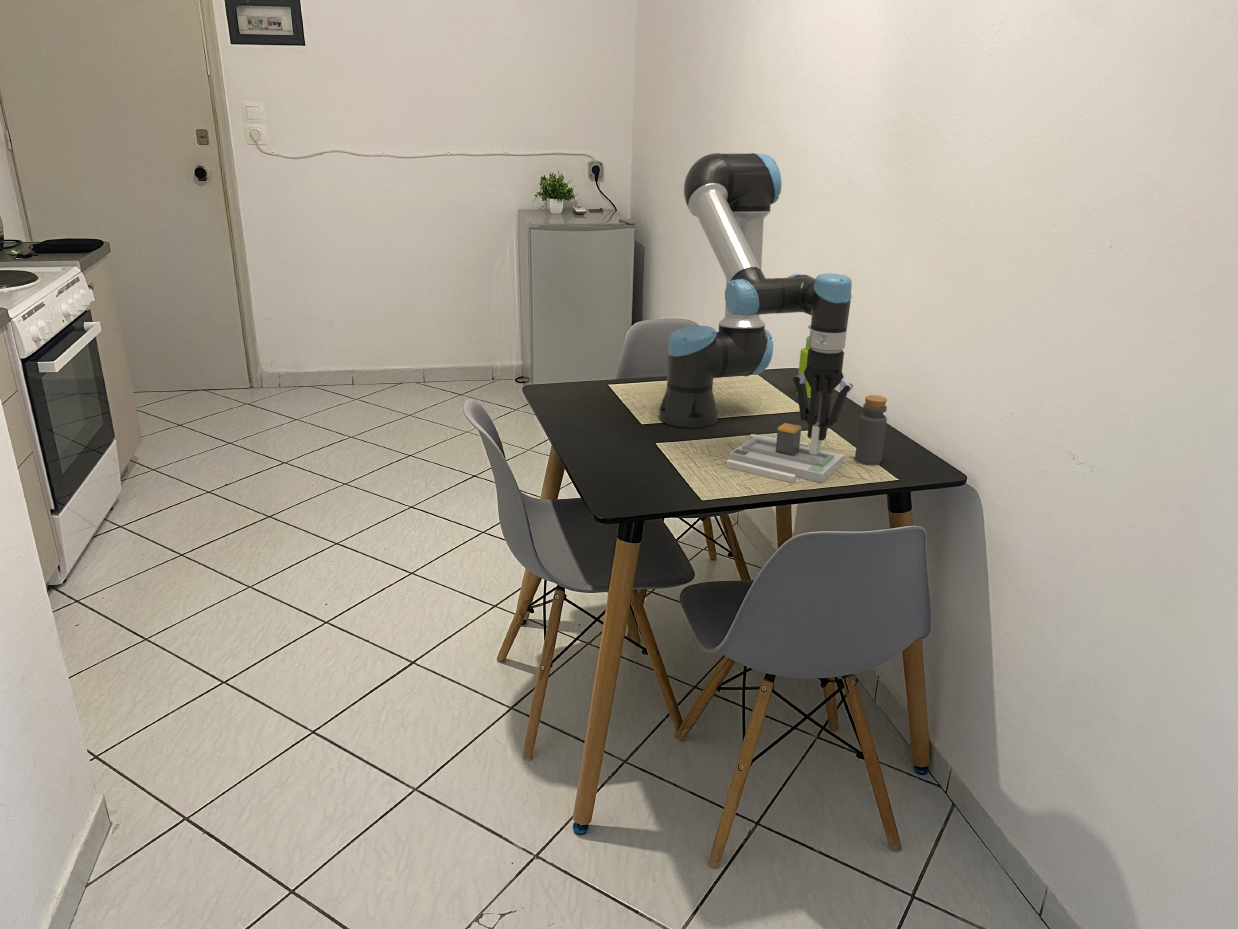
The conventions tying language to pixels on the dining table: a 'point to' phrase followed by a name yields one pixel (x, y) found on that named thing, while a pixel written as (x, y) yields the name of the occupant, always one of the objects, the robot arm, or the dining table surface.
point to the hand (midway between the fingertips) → (814, 452)
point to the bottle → (871, 431)
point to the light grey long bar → (761, 471)
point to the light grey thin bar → (776, 439)
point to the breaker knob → (788, 439)
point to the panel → (788, 459)
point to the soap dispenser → (805, 363)
